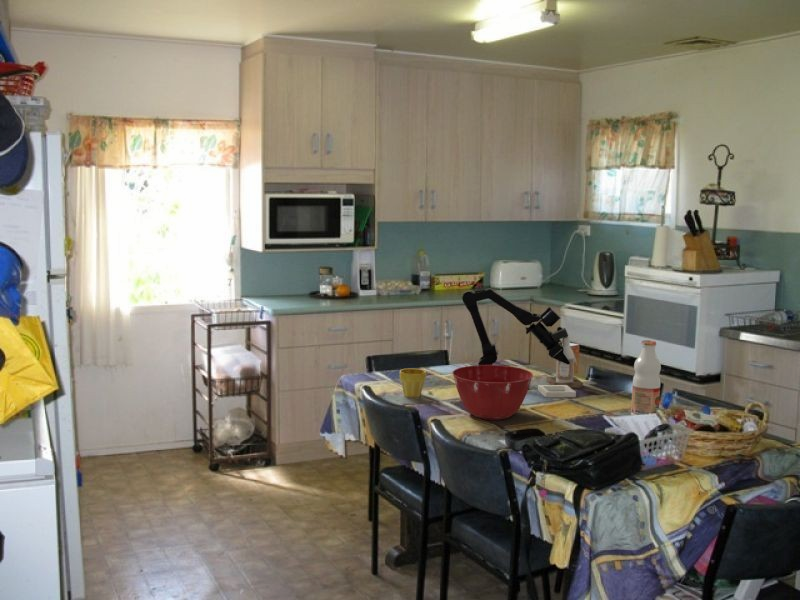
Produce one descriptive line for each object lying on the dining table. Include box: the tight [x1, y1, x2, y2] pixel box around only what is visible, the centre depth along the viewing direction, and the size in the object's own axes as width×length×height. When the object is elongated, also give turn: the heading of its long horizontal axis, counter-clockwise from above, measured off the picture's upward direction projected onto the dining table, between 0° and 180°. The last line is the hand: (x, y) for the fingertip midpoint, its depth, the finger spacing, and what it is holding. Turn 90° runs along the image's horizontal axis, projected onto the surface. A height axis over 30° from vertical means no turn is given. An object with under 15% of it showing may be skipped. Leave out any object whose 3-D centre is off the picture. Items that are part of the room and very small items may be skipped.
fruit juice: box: [630, 339, 662, 416], centre depth 294 cm, size 9×9×28 cm
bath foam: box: [555, 336, 574, 382], centre depth 346 cm, size 7×7×20 cm
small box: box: [562, 342, 580, 375], centre depth 369 cm, size 8×6×13 cm
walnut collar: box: [546, 375, 584, 389], centre depth 347 cm, size 12×12×2 cm
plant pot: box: [399, 367, 427, 399], centre depth 323 cm, size 10×10×10 cm
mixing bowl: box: [452, 364, 534, 421], centre depth 296 cm, size 28×28×16 cm
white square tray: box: [537, 384, 577, 398], centre depth 331 cm, size 12×12×2 cm
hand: (568, 361), depth 346 cm, fingers open, 9 cm apart
